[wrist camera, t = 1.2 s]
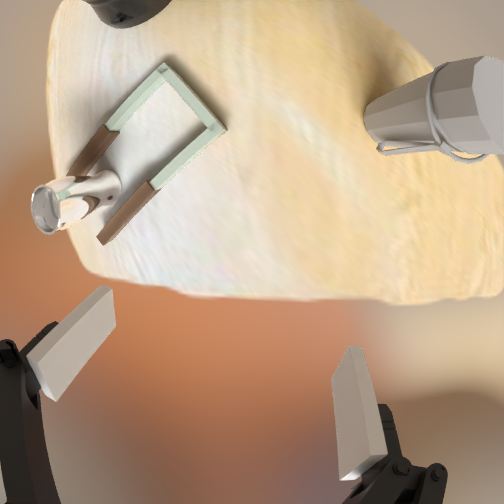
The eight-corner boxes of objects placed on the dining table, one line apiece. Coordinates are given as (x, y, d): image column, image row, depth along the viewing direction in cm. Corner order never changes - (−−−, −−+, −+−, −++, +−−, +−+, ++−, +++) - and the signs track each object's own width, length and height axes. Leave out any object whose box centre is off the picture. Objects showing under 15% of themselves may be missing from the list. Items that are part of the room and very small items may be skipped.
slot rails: (70, 182, 40) (60, 185, 38) (113, 124, 36) (102, 124, 33) (112, 239, 44) (103, 245, 41) (162, 187, 39) (153, 191, 36)
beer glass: (95, 208, 42) (34, 236, 28) (91, 169, 39) (26, 186, 25) (126, 207, 41) (65, 236, 27) (122, 165, 38) (57, 179, 25)
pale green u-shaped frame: (113, 124, 36) (104, 124, 34) (170, 66, 32) (163, 62, 30) (162, 187, 39) (155, 190, 37) (227, 130, 35) (223, 129, 33)
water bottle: (375, 86, 30) (480, 27, 7) (416, 121, 31) (545, 114, 7) (343, 135, 33) (435, 120, 10) (386, 168, 34) (507, 210, 11)
